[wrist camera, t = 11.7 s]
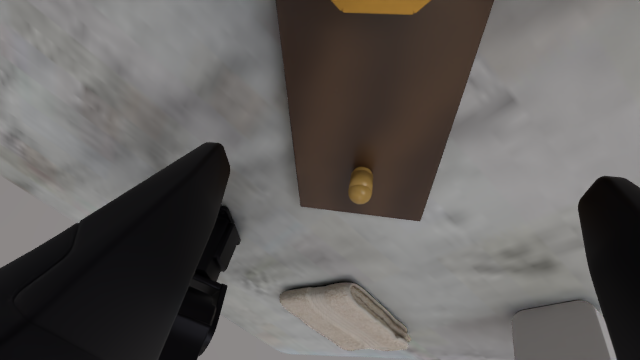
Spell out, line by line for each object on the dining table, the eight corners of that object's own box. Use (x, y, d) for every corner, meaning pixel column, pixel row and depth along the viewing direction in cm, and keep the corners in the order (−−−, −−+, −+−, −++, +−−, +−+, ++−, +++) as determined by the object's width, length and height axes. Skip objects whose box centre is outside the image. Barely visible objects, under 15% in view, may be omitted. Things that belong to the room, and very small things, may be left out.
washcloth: (348, 336, 53) (345, 356, 51) (277, 286, 43) (271, 309, 41) (417, 333, 46) (417, 356, 44) (351, 274, 37) (348, 300, 35)
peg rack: (303, 196, 28) (279, 280, 23) (254, -268, 11) (102, -373, 5) (419, 210, 27) (423, 303, 21) (583, -301, 9) (828, -489, 4)
